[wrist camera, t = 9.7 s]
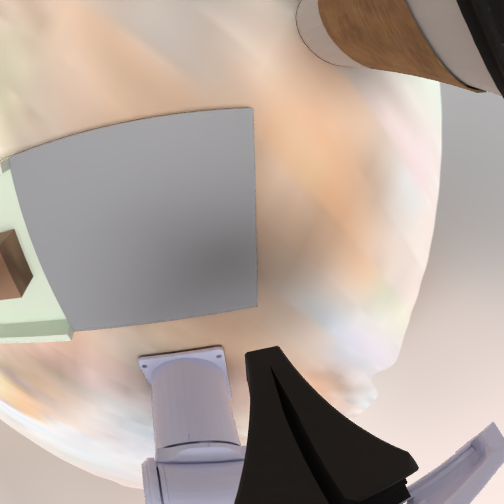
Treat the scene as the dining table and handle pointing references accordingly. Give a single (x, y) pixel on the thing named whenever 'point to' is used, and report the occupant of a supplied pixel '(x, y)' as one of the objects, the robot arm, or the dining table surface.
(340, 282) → the dining table surface
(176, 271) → the slate board
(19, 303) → the tray
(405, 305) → the dining table surface
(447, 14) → the coffee cup
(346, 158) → the dining table surface
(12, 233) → the walnut tile
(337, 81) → the dining table surface
